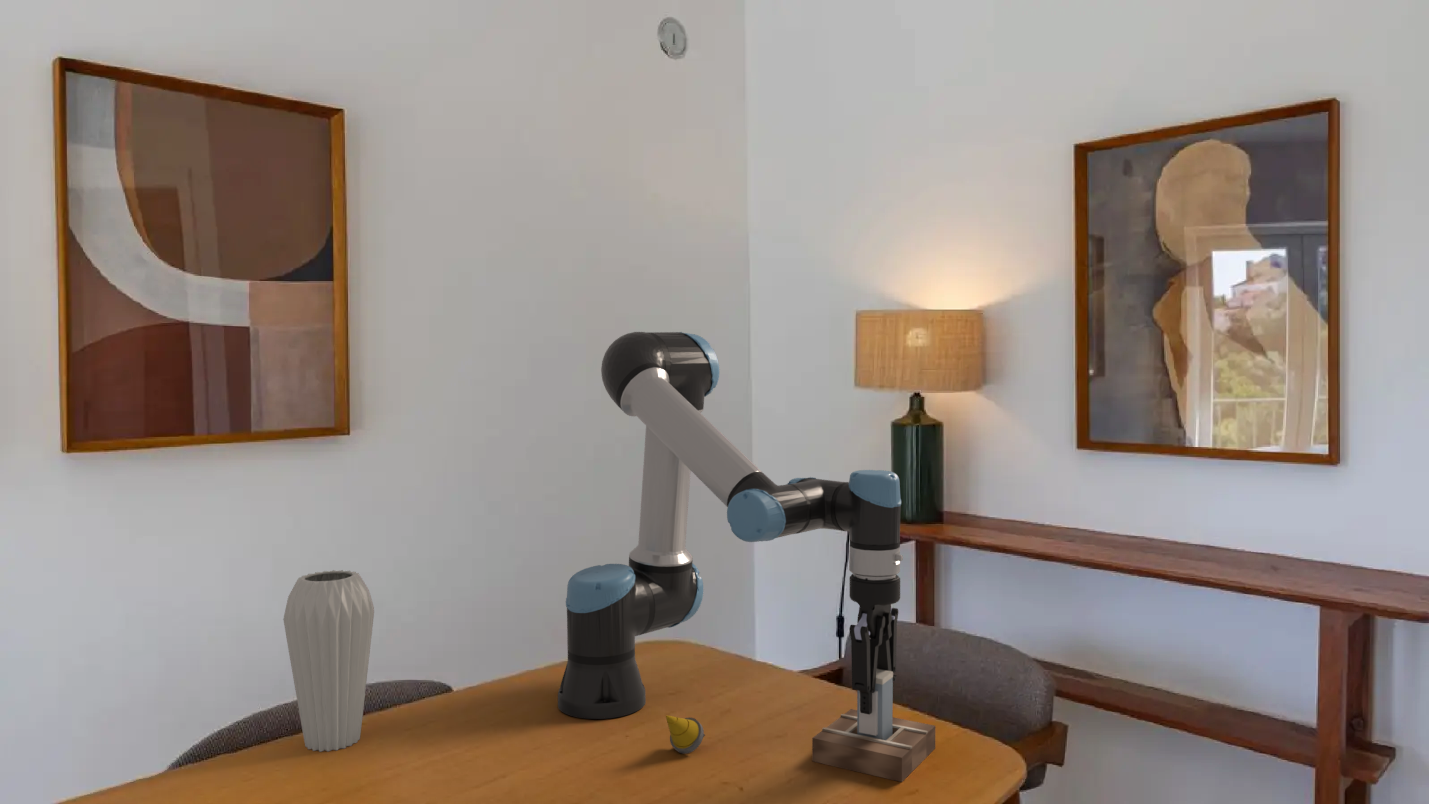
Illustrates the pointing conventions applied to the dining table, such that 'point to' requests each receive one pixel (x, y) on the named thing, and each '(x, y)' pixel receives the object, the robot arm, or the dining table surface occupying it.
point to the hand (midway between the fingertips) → (874, 727)
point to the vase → (329, 655)
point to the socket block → (874, 747)
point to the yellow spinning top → (685, 733)
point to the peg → (882, 705)
